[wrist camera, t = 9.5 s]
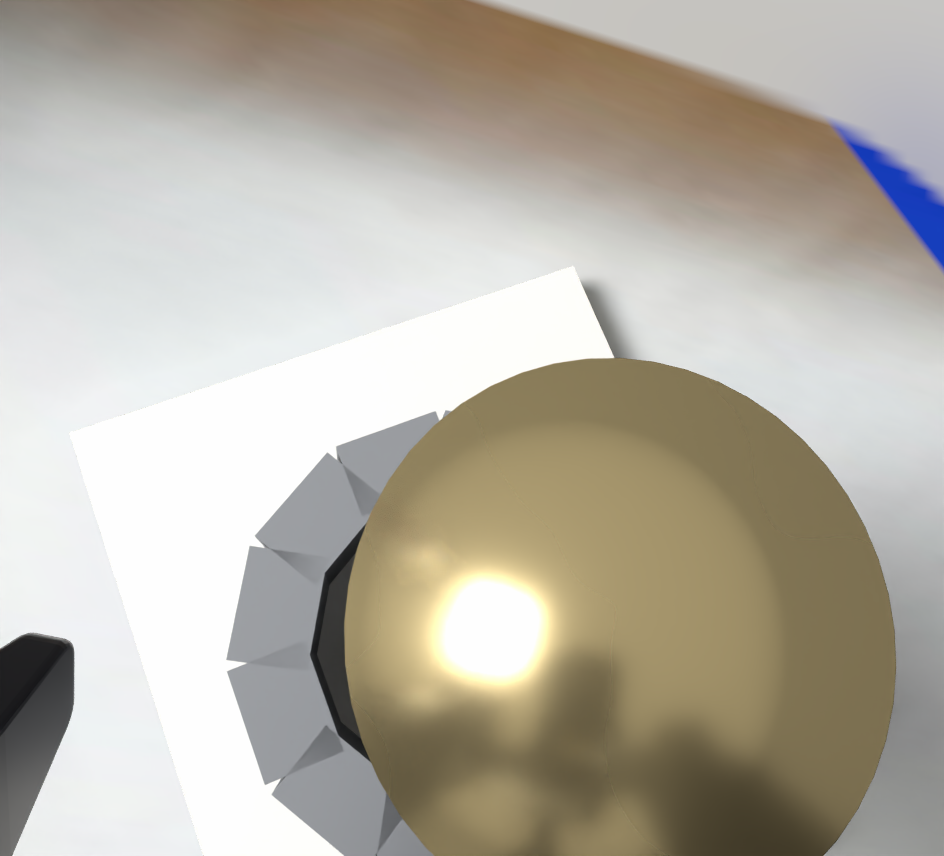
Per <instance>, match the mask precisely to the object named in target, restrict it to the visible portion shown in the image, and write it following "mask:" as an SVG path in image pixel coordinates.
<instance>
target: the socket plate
mask: <svg viewBox="0 0 944 856" xmlns="http://www.w3.org/2000/svg"><path fill="white" fill-rule="evenodd" d="M590 358H614V356H613V354H612V351H611V349H610V347H609V345H608V342H607V340H606V338H605V336H604V334H603V331H602V329H601V327H600V325H599V322H598V320H597V318H596V316H595V313H594V311H593V309H592V307H591V304H590V302H589V300H588V298H587V295H586V293H585V291H584V289H583V287H582V284H581V282H580V280H579V278H578V275H577V273H576V271H575V269H574V266H572V267H568V268H565V269H562V270H559V271H556V272H553V273H550V274H547V275H544V276H541V277H538V278H535V279H532V280H529V281H526V282H523V283H520V284H517V285H514V286H511V287H508V288H505V289H502V290H499V291H496V292H493V293H490V294H487V295H484V296H481V297H478V298H475V299H472V300H469V301H466V302H463V303H460V304H457V305H454V306H451V307H448V308H445V309H442V310H439V311H436V312H433V313H429V314H426V315H423V316H420V317H417V318H414V319H411V320H408V321H405V322H402V323H399V324H396V325H393V326H390V327H387V328H384V329H381V330H378V331H375V332H372V333H369V334H366V335H363V336H360V337H357V338H354V339H351V340H348V341H345V342H342V343H339V344H336V345H333V346H330V347H327V348H324V349H321V350H318V351H315V352H312V353H309V354H306V355H303V356H300V357H297V358H294V359H291V360H287V361H284V362H281V363H278V364H275V365H272V366H269V367H266V368H263V369H260V370H257V371H254V372H251V373H248V374H245V375H242V376H239V377H236V378H233V379H230V380H227V381H224V382H221V383H218V384H215V385H212V386H209V387H206V388H203V389H200V390H197V391H194V392H191V393H188V394H185V395H182V396H179V397H176V398H173V399H170V400H167V401H164V402H161V403H158V404H155V405H152V406H148V407H145V408H142V409H139V410H136V411H133V412H130V413H127V414H124V415H121V416H118V417H115V418H112V419H109V420H106V421H103V422H100V423H97V424H94V425H91V426H88V427H85V428H82V429H79V430H76V431H73V432H70V433H69V434H70V437H71V440H72V443H73V446H74V449H75V453H76V456H77V459H78V462H79V465H80V468H81V471H82V475H83V478H84V481H85V484H86V487H87V490H88V494H89V497H90V500H91V503H92V506H93V509H94V513H95V516H96V519H97V522H98V525H99V528H100V531H101V535H102V538H103V541H104V544H105V547H106V550H107V554H108V557H109V560H110V563H111V566H112V569H113V572H114V576H115V579H116V582H117V585H118V588H119V591H120V595H121V598H122V601H123V604H124V607H125V610H126V613H127V617H128V620H129V623H130V626H131V629H132V632H133V636H134V639H135V642H136V645H137V648H138V651H139V655H140V658H141V661H142V664H143V667H144V670H145V673H146V677H147V680H148V683H149V686H150V689H151V692H152V696H153V699H154V702H155V705H156V708H157V711H158V714H159V718H160V721H161V724H162V727H163V730H164V733H165V737H166V740H167V743H168V746H169V749H170V752H171V755H172V759H173V762H174V765H175V768H176V771H177V774H178V778H179V781H180V784H181V787H182V790H183V793H184V797H185V800H186V803H187V806H188V809H189V812H190V815H191V819H192V822H193V825H194V828H195V831H196V834H197V838H198V841H199V844H200V847H201V850H202V853H203V856H434V855H433V854H432V853H431V852H430V851H429V850H428V849H426V847H425V846H424V845H423V844H422V842H421V841H420V840H419V839H418V837H417V836H416V835H415V834H414V832H413V831H412V830H411V829H410V827H409V826H408V825H407V824H406V822H405V821H404V820H403V819H402V817H401V816H400V815H399V813H398V811H397V810H396V808H395V806H394V805H393V803H392V801H391V800H390V798H389V796H388V795H387V793H386V791H385V790H384V788H383V786H382V785H381V783H380V781H379V780H378V777H377V775H376V773H375V770H374V768H373V766H372V763H371V761H370V759H369V756H368V754H367V752H366V750H365V747H364V745H363V743H362V739H361V736H360V732H359V729H358V725H357V722H356V718H355V715H354V711H353V708H352V704H351V699H350V692H349V686H348V679H347V673H346V666H345V636H344V621H345V612H346V602H347V593H348V584H349V580H350V576H351V572H352V568H353V564H354V559H355V555H356V551H357V547H358V545H359V542H360V539H361V537H362V534H363V532H364V529H365V526H366V524H367V521H368V518H369V516H370V513H371V511H372V509H373V507H374V506H375V504H376V502H377V500H378V498H379V496H380V495H381V493H382V491H383V489H384V487H385V485H386V484H387V482H388V480H389V479H390V477H391V476H392V474H393V473H394V472H395V470H396V469H397V468H398V466H399V465H400V463H401V462H402V461H403V459H404V458H405V457H406V455H407V454H408V452H409V451H410V450H411V449H412V448H413V447H414V446H415V445H416V444H417V443H418V442H419V441H420V440H421V439H422V437H423V436H424V435H425V434H426V433H427V432H428V431H429V430H430V429H431V428H432V427H433V426H434V425H435V424H436V423H438V422H439V421H440V420H441V419H443V418H444V417H445V416H446V415H448V414H449V413H450V412H451V411H453V410H454V409H455V408H456V407H458V406H459V405H460V404H461V403H463V402H465V401H466V400H468V399H470V398H471V397H473V396H475V395H476V394H478V393H480V392H481V391H483V390H485V389H486V388H488V387H490V386H492V385H494V384H496V383H499V382H501V381H503V380H506V379H508V378H510V377H513V376H515V375H517V374H519V373H522V372H525V371H529V370H532V369H536V368H539V367H543V366H547V365H550V364H554V363H560V362H567V361H574V360H581V359H590Z"/></svg>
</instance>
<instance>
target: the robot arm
mask: <svg viewBox="0 0 944 856" xmlns="http://www.w3.org/2000/svg"><path fill="white" fill-rule="evenodd" d="M73 705H74V648H73V645H72V643H71V642H70V641H68V640H66V639H63V638H58V637H53V636H48V635H43V634H38V633H27V634H24V635H21V636H20V637H18V638H16V639H15V640H13V641H11V642H10V643H8V644H7V645H5V646H4V647H2V648H0V856H12V855H13V852H14V850H15V848H16V845H17V843H18V841H19V838H20V836H21V834H22V831H23V829H24V827H25V824H26V822H27V820H28V817H29V815H30V813H31V810H32V808H33V806H34V803H35V801H36V799H37V796H38V794H39V792H40V789H41V787H42V785H43V783H44V780H45V778H46V776H47V773H48V771H49V769H50V766H51V764H52V762H53V759H54V757H55V755H56V752H57V750H58V748H59V745H60V743H61V741H62V738H63V736H64V734H65V731H66V729H67V727H68V724H69V721H70V718H71V714H72V710H73Z"/></svg>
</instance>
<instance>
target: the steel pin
mask: <svg viewBox="0 0 944 856" xmlns="http://www.w3.org/2000/svg"><path fill="white" fill-rule="evenodd" d="M344 636H345V666H346V673H347V679H348V686H349V692H350V699H351V704H352V708H353V711H354V715H355V718H356V722H357V725H358V729H359V732H360V736H361V739H362V743H363V745H364V747H365V750H366V752H367V754H368V756H369V759H370V761H371V763H372V766H373V768H374V770H375V773H376V775H377V777H378V780H379V781H380V783H381V785H382V786H383V788H384V790H385V791H386V793H387V795H388V796H389V798H390V800H391V801H392V803H393V805H394V806H395V808H396V810H397V811H398V813H399V815H400V816H401V817H402V819H403V820H404V821H405V822H406V824H407V825H408V826H409V827H410V829H411V830H412V831H413V832H414V834H415V835H416V836H417V837H418V839H419V840H420V841H421V842H422V844H423V845H424V846H425V847H426V849H428V850H429V851H430V852H431V853H432V854H433V855H434V856H823V855H824V854H825V853H826V852H827V851H828V850H829V849H830V848H831V847H832V845H833V844H834V843H835V842H836V841H837V840H838V838H839V837H840V835H841V834H842V832H843V831H844V829H845V828H846V826H847V825H848V823H849V822H850V820H851V819H852V817H853V816H854V814H855V813H856V811H857V810H858V808H859V806H860V804H861V802H862V800H863V798H864V795H865V793H866V791H867V789H868V787H869V785H870V783H871V781H872V779H873V777H874V775H875V772H876V769H877V766H878V763H879V760H880V757H881V754H882V751H883V748H884V745H885V742H886V738H887V733H888V728H889V723H890V718H891V713H892V708H893V702H894V689H895V675H896V653H895V631H894V624H893V618H892V612H891V606H890V600H889V594H888V591H887V587H886V584H885V580H884V577H883V573H882V570H881V566H880V563H879V559H878V557H877V554H876V552H875V550H874V547H873V545H872V542H871V540H870V538H869V535H868V533H867V530H866V528H865V526H864V524H863V522H862V520H861V518H860V517H859V515H858V513H857V511H856V509H855V508H854V506H853V504H852V502H851V500H850V499H849V497H848V495H847V494H846V492H845V491H844V489H843V488H842V487H841V485H840V484H839V482H838V481H837V480H836V478H835V477H834V475H833V474H832V473H831V471H830V470H829V469H828V467H827V466H826V465H825V464H824V462H823V461H822V460H821V459H820V458H819V457H818V456H817V455H816V454H815V453H814V451H813V450H812V449H811V448H810V447H809V446H808V445H807V444H806V443H805V442H804V440H803V439H801V438H800V437H799V436H798V435H797V434H796V433H795V432H793V431H792V430H791V429H790V428H789V427H788V426H787V425H785V424H784V423H783V422H782V421H781V420H780V419H779V418H777V417H776V416H775V415H773V414H772V413H770V412H769V411H767V410H766V409H764V408H763V407H762V406H760V405H759V404H757V403H756V402H754V401H753V400H751V399H750V398H748V397H747V396H745V395H743V394H741V393H739V392H737V391H735V390H733V389H731V388H729V387H727V386H725V385H724V384H722V383H720V382H718V381H715V380H712V379H710V378H707V377H704V376H702V375H699V374H697V373H694V372H691V371H689V370H686V369H681V368H677V367H673V366H669V365H665V364H661V363H657V362H651V361H642V360H633V359H625V358H590V359H581V360H574V361H567V362H560V363H554V364H550V365H547V366H543V367H539V368H536V369H532V370H529V371H525V372H522V373H519V374H517V375H515V376H513V377H510V378H508V379H506V380H503V381H501V382H499V383H496V384H494V385H492V386H490V387H488V388H486V389H485V390H483V391H481V392H480V393H478V394H476V395H475V396H473V397H471V398H470V399H468V400H466V401H465V402H463V403H461V404H460V405H459V406H458V407H456V408H455V409H454V410H453V411H451V412H450V413H449V414H448V415H446V416H445V417H444V418H443V419H441V420H440V421H439V422H438V423H436V424H435V425H434V426H433V427H432V428H431V429H430V430H429V431H428V432H427V433H426V434H425V435H424V436H423V437H422V439H421V440H420V441H419V442H418V443H417V444H416V445H415V446H414V447H413V448H412V449H411V450H410V451H409V452H408V454H407V455H406V457H405V458H404V459H403V461H402V462H401V463H400V465H399V466H398V468H397V469H396V470H395V472H394V473H393V474H392V476H391V477H390V479H389V480H388V482H387V484H386V485H385V487H384V489H383V491H382V493H381V495H380V496H379V498H378V500H377V502H376V504H375V506H374V507H373V509H372V511H371V513H370V516H369V518H368V521H367V524H366V526H365V529H364V532H363V534H362V537H361V539H360V542H359V545H358V547H357V551H356V555H355V559H354V564H353V568H352V572H351V576H350V580H349V584H348V593H347V602H346V612H345V621H344Z"/></svg>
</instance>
